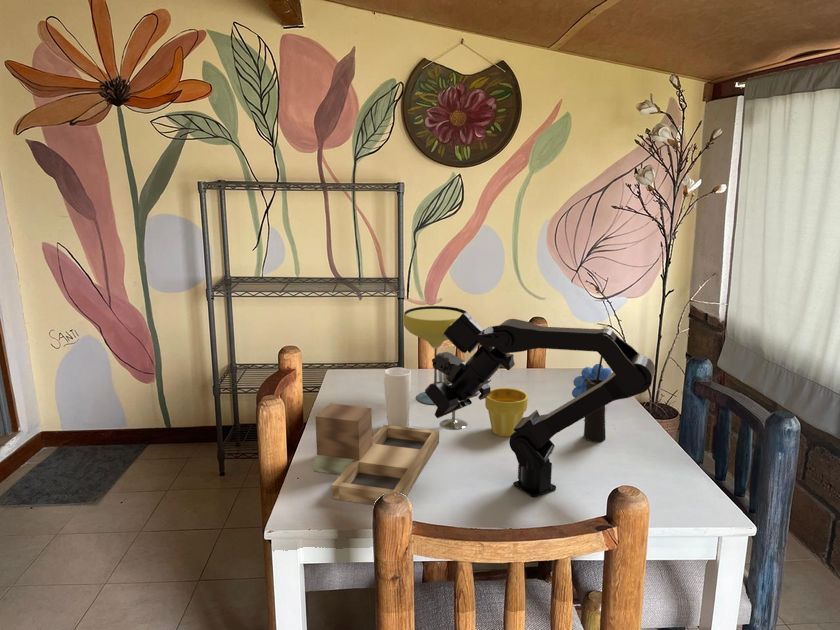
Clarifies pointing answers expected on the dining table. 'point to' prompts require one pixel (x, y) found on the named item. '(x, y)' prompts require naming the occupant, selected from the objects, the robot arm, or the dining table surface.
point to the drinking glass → (397, 396)
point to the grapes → (591, 375)
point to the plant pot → (505, 409)
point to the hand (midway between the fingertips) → (436, 416)
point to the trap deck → (381, 464)
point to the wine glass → (452, 423)
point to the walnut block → (344, 431)
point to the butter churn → (595, 416)
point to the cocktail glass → (430, 329)
